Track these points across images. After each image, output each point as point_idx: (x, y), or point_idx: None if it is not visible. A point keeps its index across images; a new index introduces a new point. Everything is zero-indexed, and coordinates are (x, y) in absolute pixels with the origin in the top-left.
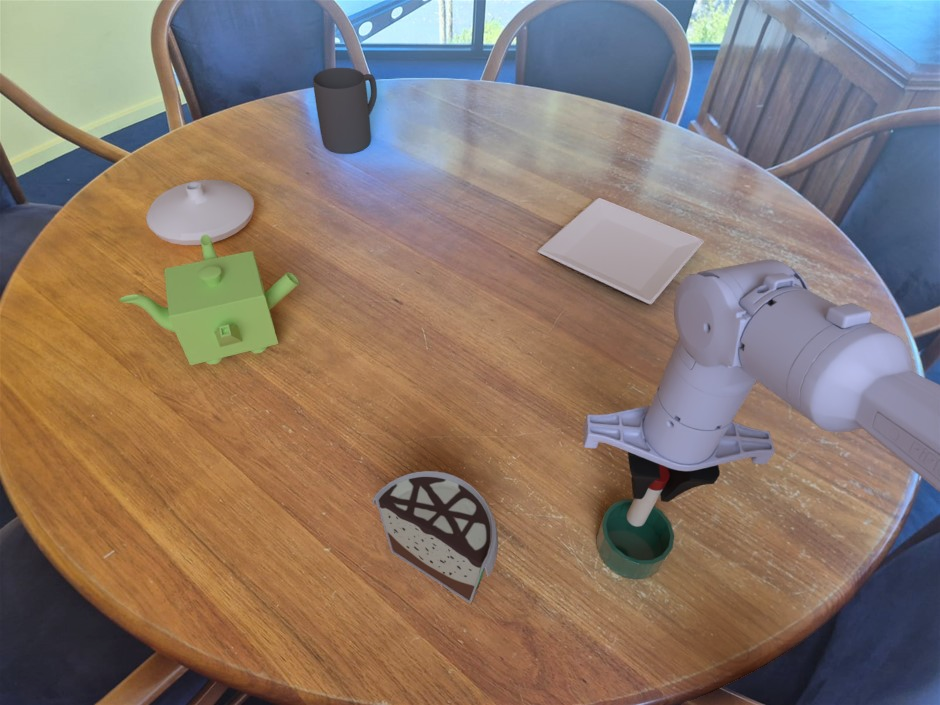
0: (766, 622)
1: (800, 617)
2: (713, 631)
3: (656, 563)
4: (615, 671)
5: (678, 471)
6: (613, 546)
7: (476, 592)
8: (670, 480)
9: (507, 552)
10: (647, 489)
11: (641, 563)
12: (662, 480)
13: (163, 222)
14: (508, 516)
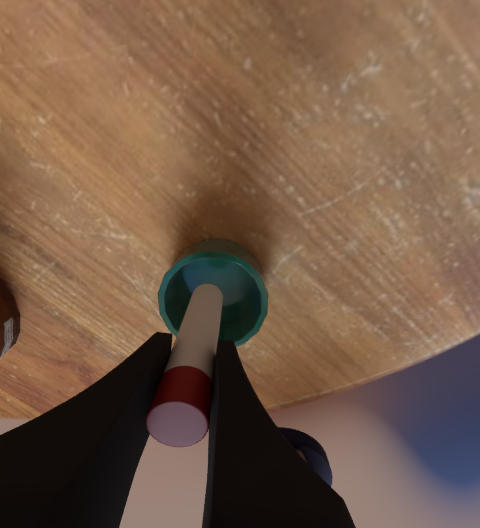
0: (353, 371)
1: (395, 367)
2: (290, 377)
3: None
4: None
5: (204, 514)
6: (170, 326)
7: (14, 337)
8: (211, 428)
9: (51, 285)
10: (143, 449)
11: None
12: (183, 442)
13: None
14: (46, 233)
